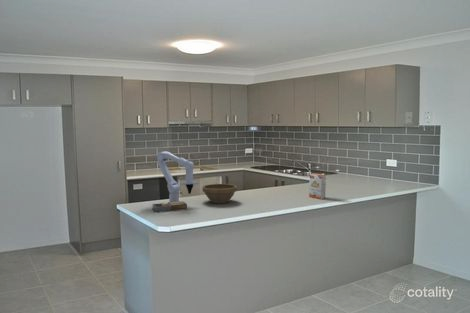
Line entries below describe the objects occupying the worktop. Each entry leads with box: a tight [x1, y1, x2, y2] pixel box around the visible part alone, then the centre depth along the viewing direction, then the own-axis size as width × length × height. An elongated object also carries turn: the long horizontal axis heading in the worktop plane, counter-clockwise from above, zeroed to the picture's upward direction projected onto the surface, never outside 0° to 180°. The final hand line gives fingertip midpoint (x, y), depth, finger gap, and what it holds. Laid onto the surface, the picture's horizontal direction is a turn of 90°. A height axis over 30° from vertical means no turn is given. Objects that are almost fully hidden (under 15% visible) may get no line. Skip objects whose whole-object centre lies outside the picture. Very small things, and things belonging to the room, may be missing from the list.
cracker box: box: [308, 172, 327, 200], centre depth 360 cm, size 14×6×21 cm, turn 37°
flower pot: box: [202, 183, 238, 204], centre depth 344 cm, size 28×28×13 cm
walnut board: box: [167, 200, 188, 211], centre depth 320 cm, size 12×12×4 cm
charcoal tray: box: [152, 202, 172, 213], centre depth 315 cm, size 12×12×4 cm
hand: (189, 193), depth 330 cm, fingers closed
